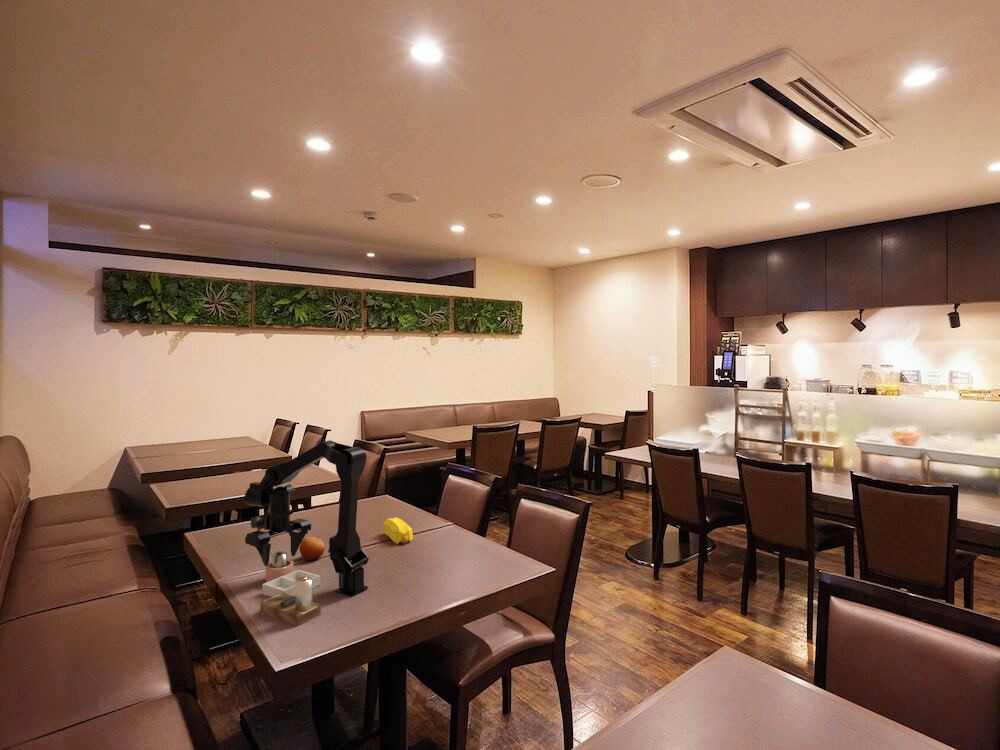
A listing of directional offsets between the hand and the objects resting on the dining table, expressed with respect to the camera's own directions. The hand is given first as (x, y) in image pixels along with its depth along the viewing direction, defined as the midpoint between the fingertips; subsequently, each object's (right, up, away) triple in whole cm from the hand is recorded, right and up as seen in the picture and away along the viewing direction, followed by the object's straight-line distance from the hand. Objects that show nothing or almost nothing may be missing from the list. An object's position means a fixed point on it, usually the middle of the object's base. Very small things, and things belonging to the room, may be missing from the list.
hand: (279, 560), depth 156 cm
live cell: (+16, -3, -24) cm, 29 cm away
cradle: (+12, -6, -22) cm, 25 cm away
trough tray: (+6, -6, -7) cm, 11 cm away
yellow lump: (+27, -6, +39) cm, 48 cm away
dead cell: (0, -5, 0) cm, 5 cm away
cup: (0, -6, 0) cm, 6 cm away
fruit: (+3, -6, +18) cm, 19 cm away
